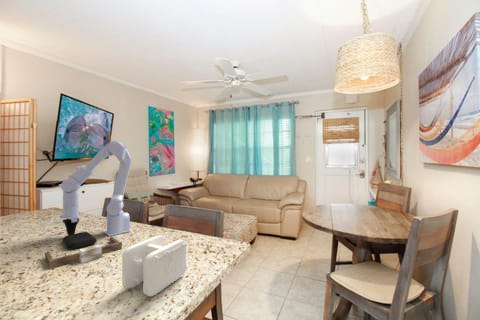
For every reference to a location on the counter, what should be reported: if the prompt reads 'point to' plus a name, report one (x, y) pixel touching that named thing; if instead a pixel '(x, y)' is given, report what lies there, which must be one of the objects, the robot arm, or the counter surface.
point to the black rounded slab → (79, 240)
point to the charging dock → (84, 254)
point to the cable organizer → (153, 264)
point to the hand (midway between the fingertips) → (71, 234)
